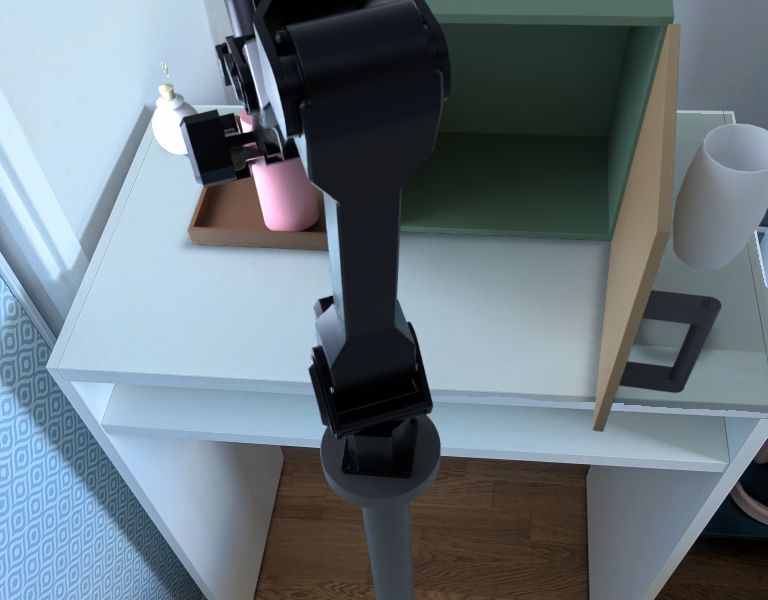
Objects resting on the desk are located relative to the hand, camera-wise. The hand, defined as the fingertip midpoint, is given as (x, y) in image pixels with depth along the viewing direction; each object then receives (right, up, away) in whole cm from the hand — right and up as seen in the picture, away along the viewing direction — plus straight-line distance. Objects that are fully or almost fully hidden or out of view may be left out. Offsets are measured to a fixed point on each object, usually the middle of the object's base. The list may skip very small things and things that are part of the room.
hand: (277, 150), depth 82 cm
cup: (+41, -21, -5) cm, 46 cm away
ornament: (-14, +7, +15) cm, 21 cm away
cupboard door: (+37, -21, -5) cm, 43 cm away
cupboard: (+26, 0, +8) cm, 27 cm away
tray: (-1, 0, +10) cm, 10 cm away
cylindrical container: (+1, -5, +5) cm, 7 cm away
